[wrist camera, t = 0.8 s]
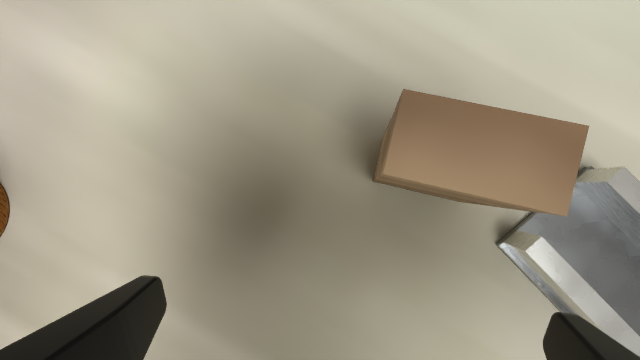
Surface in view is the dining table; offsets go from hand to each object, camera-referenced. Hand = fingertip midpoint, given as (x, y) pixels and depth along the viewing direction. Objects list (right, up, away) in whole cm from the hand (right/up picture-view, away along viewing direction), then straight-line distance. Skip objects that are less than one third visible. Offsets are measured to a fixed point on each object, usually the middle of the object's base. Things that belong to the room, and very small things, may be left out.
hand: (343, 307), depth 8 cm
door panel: (+6, +4, +15) cm, 17 cm away
